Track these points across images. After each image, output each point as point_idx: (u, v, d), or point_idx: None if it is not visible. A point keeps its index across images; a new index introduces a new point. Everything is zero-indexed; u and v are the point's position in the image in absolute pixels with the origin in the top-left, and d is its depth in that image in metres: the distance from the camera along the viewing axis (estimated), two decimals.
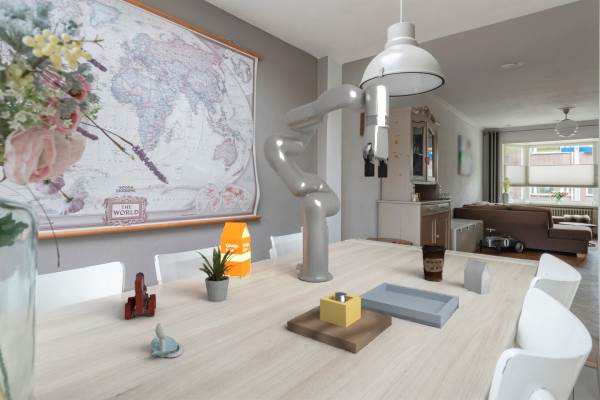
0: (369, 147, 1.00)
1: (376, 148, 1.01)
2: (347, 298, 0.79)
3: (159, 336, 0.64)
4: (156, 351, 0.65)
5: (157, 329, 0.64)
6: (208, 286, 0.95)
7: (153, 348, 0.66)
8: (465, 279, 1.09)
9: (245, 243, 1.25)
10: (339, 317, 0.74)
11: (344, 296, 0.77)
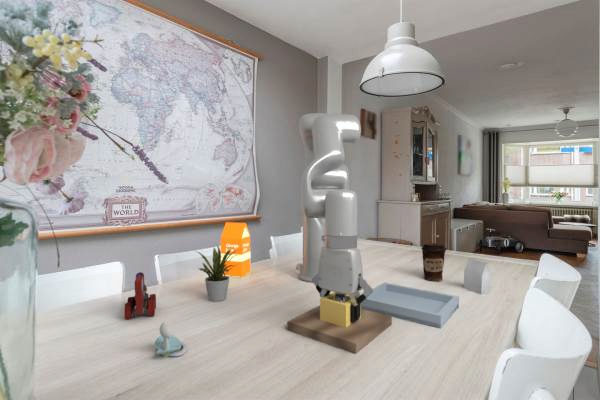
0: None
1: None
2: (347, 298, 0.79)
3: (163, 335, 0.65)
4: (160, 350, 0.65)
5: (161, 328, 0.65)
6: (208, 286, 0.95)
7: (157, 347, 0.66)
8: (465, 279, 1.09)
9: (245, 243, 1.25)
10: (339, 317, 0.74)
11: (344, 296, 0.77)
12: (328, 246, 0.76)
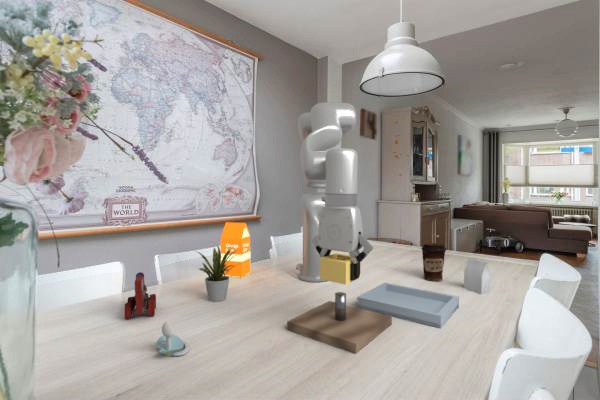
0: None
1: None
2: (347, 258, 0.79)
3: (165, 335, 0.65)
4: (162, 349, 0.65)
5: (164, 328, 0.65)
6: (208, 286, 0.95)
7: (159, 346, 0.66)
8: (465, 279, 1.09)
9: (245, 243, 1.25)
10: (339, 275, 0.74)
11: (344, 296, 0.77)
12: (328, 204, 0.75)
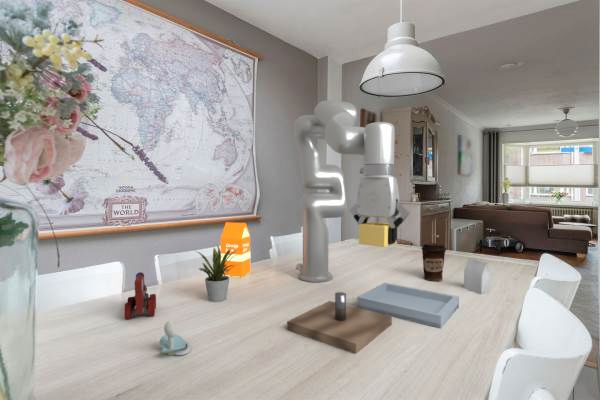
0: None
1: None
2: (383, 225, 0.85)
3: (168, 334, 0.65)
4: (165, 349, 0.65)
5: (166, 327, 0.65)
6: (208, 286, 0.95)
7: (162, 346, 0.66)
8: (465, 279, 1.09)
9: (245, 243, 1.25)
10: (378, 238, 0.80)
11: (344, 296, 0.77)
12: (367, 174, 0.82)
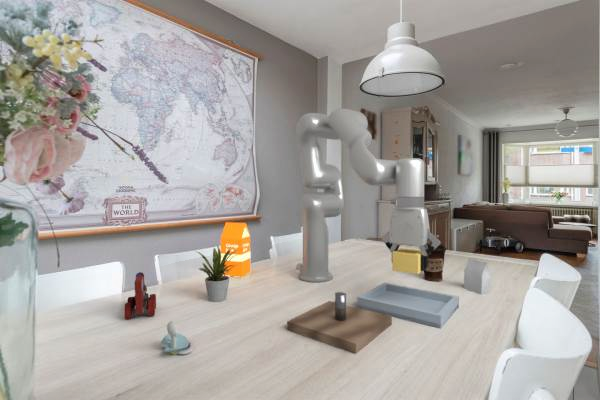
0: None
1: None
2: (414, 252, 0.92)
3: (171, 333, 0.65)
4: (168, 348, 0.66)
5: (169, 326, 0.65)
6: (208, 286, 0.95)
7: (165, 345, 0.67)
8: (465, 279, 1.09)
9: (245, 243, 1.25)
10: (412, 266, 0.87)
11: (344, 296, 0.77)
12: (400, 206, 0.88)
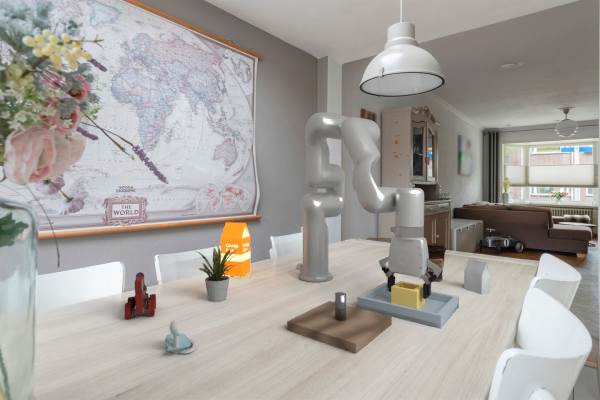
0: None
1: None
2: (413, 286, 0.93)
3: (173, 333, 0.66)
4: (170, 347, 0.66)
5: (171, 326, 0.66)
6: (208, 286, 0.95)
7: (167, 344, 0.67)
8: (465, 279, 1.09)
9: (245, 243, 1.25)
10: (410, 302, 0.87)
11: (344, 296, 0.77)
12: (400, 235, 0.89)
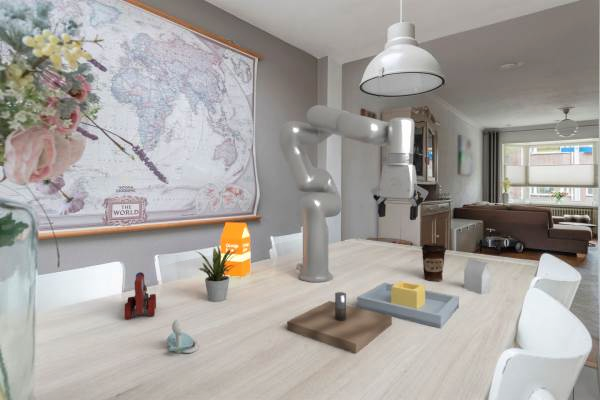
0: None
1: None
2: (413, 286, 0.93)
3: (176, 332, 0.66)
4: (173, 347, 0.66)
5: (174, 325, 0.66)
6: (208, 286, 0.95)
7: (169, 344, 0.67)
8: (465, 279, 1.09)
9: (245, 243, 1.25)
10: (410, 302, 0.87)
11: (344, 296, 0.77)
12: (390, 162, 0.95)
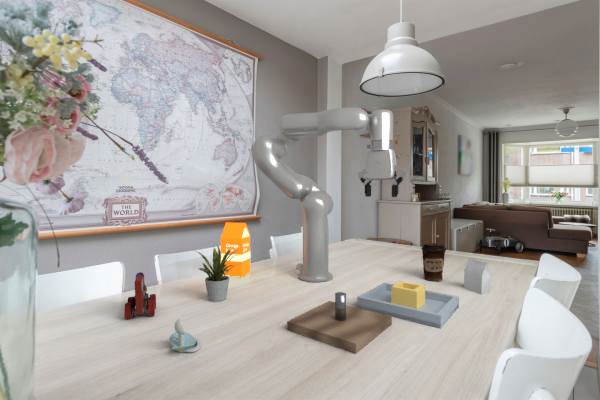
0: None
1: None
2: (413, 286, 0.93)
3: (178, 331, 0.66)
4: (175, 346, 0.67)
5: (176, 325, 0.66)
6: (208, 286, 0.95)
7: (172, 343, 0.68)
8: (465, 279, 1.09)
9: (245, 243, 1.25)
10: (410, 302, 0.87)
11: (344, 296, 0.77)
12: (373, 148, 1.11)
